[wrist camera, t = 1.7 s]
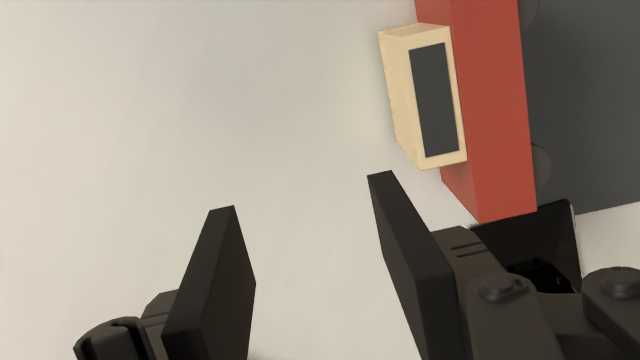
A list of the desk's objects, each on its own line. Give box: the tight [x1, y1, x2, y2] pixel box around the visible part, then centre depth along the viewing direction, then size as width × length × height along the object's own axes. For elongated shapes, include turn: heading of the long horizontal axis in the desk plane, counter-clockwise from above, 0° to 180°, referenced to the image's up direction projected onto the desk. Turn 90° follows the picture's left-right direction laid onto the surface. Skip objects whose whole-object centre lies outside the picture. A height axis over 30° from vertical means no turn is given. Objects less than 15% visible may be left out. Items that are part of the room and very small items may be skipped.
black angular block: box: [468, 199, 582, 294], centre depth 37 cm, size 12×7×5 cm, turn 17°
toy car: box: [378, 0, 552, 224], centre depth 31 cm, size 13×7×8 cm, turn 12°
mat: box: [520, 0, 640, 215], centre depth 34 cm, size 20×16×1 cm
